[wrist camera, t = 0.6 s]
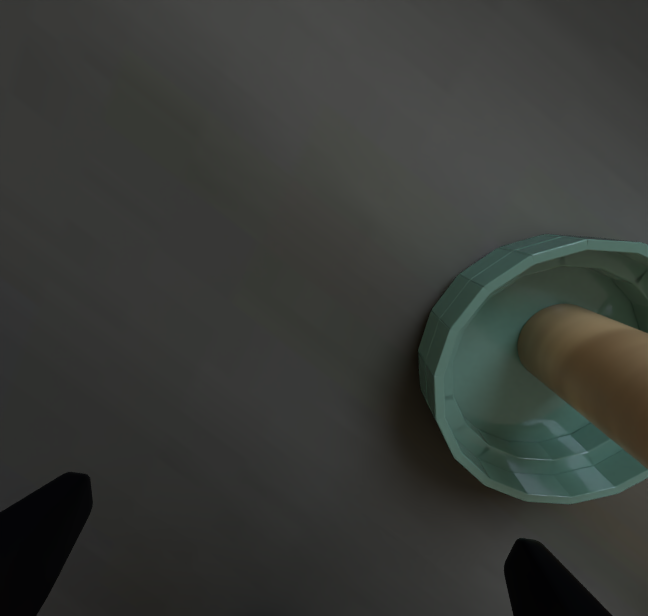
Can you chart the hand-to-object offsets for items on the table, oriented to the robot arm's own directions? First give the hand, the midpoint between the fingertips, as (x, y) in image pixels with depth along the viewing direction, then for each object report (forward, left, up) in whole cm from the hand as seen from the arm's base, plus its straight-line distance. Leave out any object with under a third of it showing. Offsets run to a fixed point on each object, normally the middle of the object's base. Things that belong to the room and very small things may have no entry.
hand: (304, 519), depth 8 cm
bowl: (-1, -13, -15) cm, 20 cm away
